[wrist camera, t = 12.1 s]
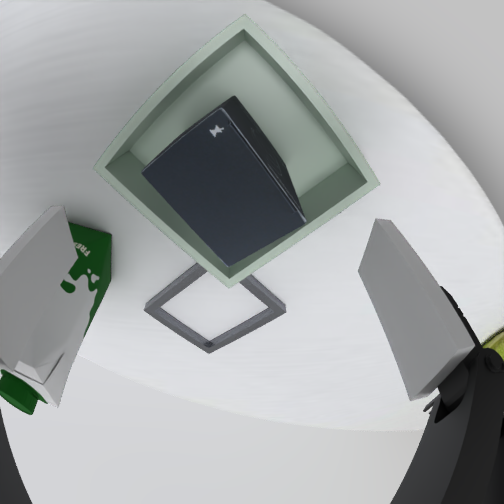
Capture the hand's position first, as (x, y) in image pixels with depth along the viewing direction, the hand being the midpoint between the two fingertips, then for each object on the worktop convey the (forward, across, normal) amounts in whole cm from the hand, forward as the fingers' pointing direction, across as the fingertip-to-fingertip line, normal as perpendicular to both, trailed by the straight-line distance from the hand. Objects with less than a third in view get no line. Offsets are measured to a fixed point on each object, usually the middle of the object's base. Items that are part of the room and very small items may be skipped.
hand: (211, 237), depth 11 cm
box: (+15, 0, 0) cm, 15 cm away
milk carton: (+16, -17, -12) cm, 26 cm away
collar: (+15, -1, -19) cm, 25 cm away
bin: (+15, +1, 0) cm, 15 cm away
